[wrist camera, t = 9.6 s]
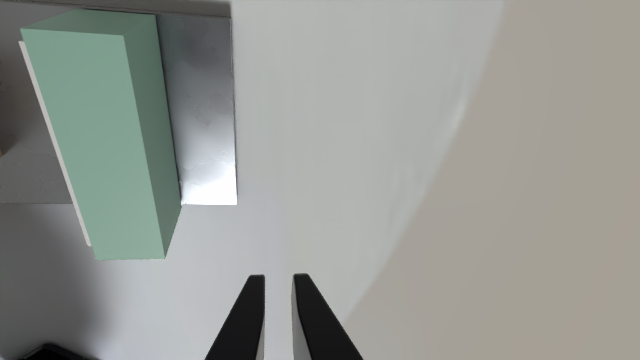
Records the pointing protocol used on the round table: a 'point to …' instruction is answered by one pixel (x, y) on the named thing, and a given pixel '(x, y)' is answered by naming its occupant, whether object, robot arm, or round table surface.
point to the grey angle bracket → (182, 99)
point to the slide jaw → (109, 126)
